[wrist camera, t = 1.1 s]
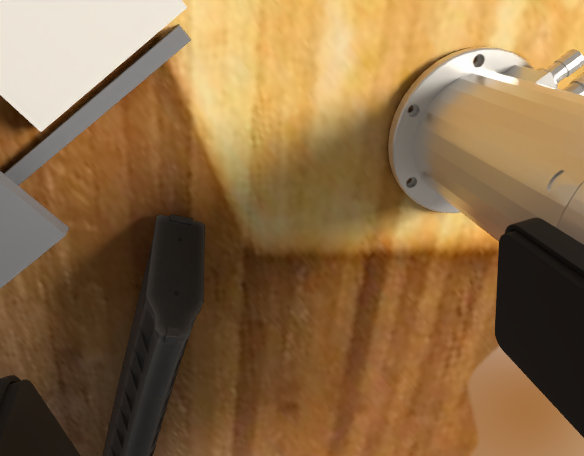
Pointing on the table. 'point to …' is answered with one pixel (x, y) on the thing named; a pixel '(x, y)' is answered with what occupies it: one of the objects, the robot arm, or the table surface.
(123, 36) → the white rounded slab
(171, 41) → the dock
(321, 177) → the table surface
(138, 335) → the magazine
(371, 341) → the table surface
